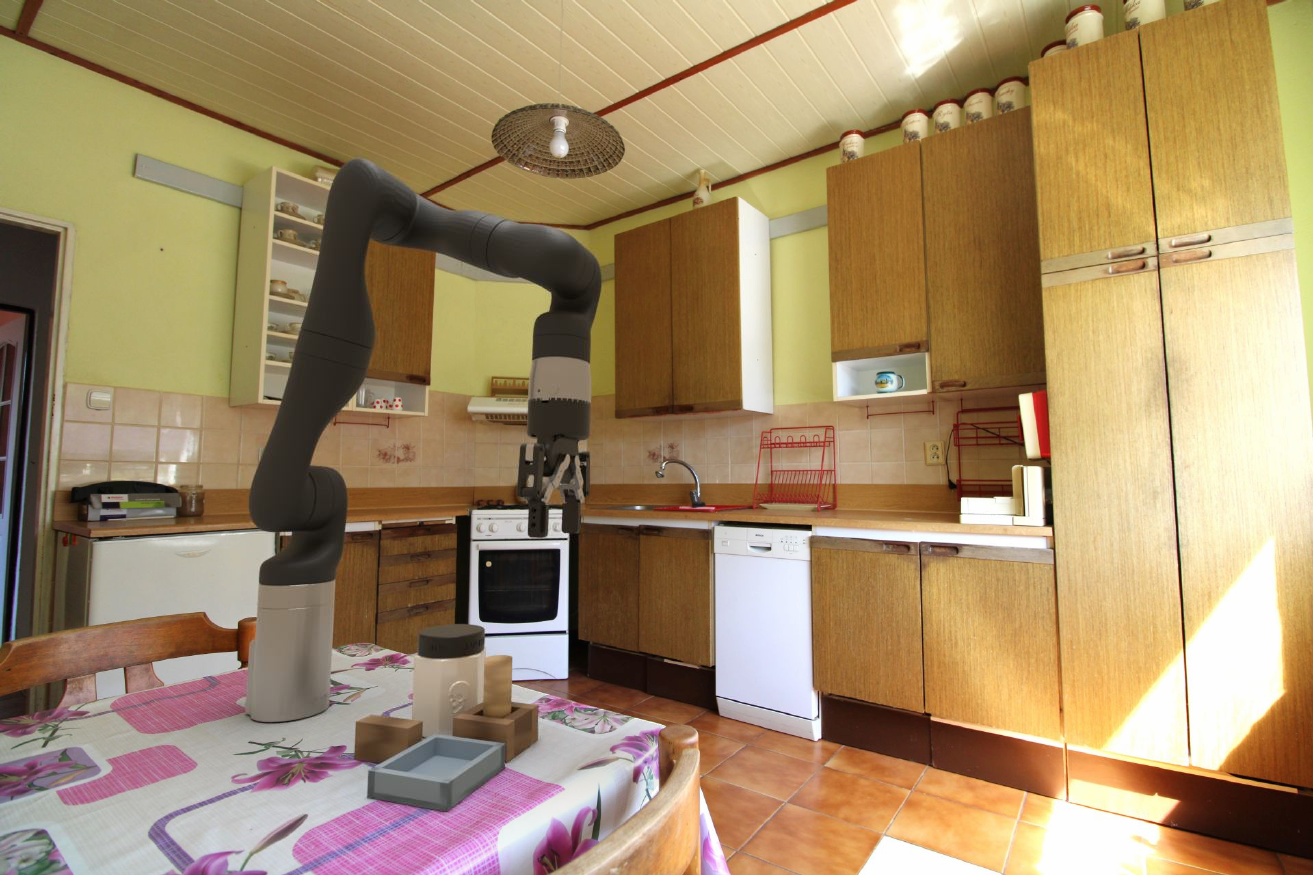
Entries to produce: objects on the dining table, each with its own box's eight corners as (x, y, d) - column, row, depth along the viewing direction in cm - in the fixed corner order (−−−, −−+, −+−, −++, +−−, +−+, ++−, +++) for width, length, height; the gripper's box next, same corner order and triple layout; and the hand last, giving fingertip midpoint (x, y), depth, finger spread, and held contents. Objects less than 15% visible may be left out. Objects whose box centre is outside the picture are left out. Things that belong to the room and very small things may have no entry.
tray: (367, 797, 61) (368, 770, 61) (433, 756, 70) (434, 733, 70) (446, 811, 58) (447, 783, 58) (504, 767, 67) (505, 743, 68)
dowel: (476, 750, 72) (478, 660, 73) (491, 740, 75) (494, 653, 76) (500, 753, 71) (503, 662, 72) (515, 743, 74) (517, 656, 75)
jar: (419, 746, 73) (423, 640, 74) (404, 725, 80) (408, 628, 81) (494, 730, 78) (497, 631, 79) (474, 712, 85) (476, 621, 86)
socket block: (451, 754, 71) (453, 717, 71) (486, 732, 78) (487, 699, 78) (506, 762, 69) (507, 724, 69) (537, 739, 75) (538, 704, 76)
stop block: (354, 758, 70) (355, 721, 70) (370, 750, 72) (371, 714, 72) (406, 767, 68) (408, 728, 68) (421, 758, 70) (422, 721, 70)
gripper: (558, 408, 84) (553, 531, 83) (500, 391, 71) (494, 537, 69) (610, 407, 82) (607, 533, 80) (561, 389, 68) (556, 540, 67)
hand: (554, 535), depth 75 cm, fingers open, 8 cm apart
